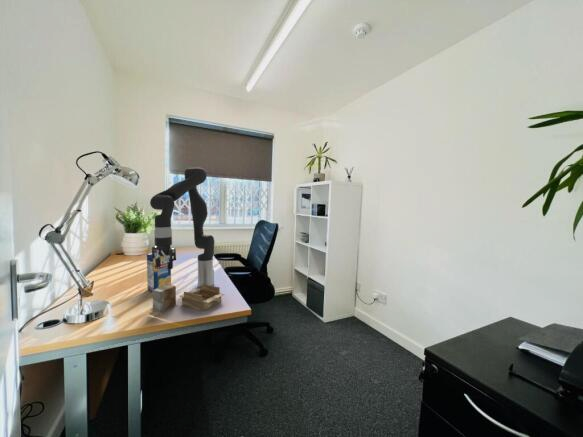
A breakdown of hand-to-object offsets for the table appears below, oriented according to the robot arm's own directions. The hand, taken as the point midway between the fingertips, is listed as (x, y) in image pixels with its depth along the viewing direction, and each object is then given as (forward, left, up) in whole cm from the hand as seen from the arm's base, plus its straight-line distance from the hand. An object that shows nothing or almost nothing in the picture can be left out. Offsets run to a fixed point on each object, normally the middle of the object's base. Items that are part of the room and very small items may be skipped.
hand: (164, 268), depth 114 cm
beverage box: (-18, -28, -21) cm, 39 cm away
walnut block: (0, 0, -20) cm, 20 cm away
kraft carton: (-12, +13, -21) cm, 27 cm away
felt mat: (0, 0, -21) cm, 21 cm away
